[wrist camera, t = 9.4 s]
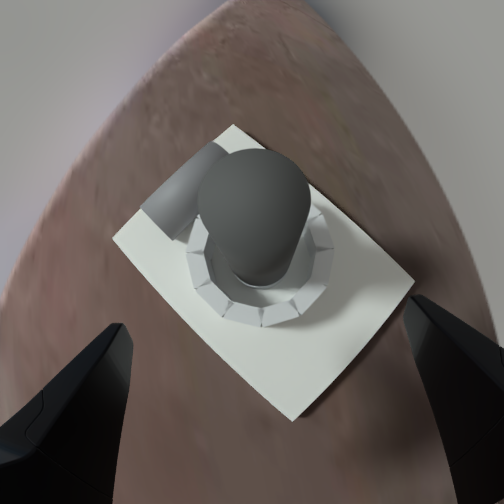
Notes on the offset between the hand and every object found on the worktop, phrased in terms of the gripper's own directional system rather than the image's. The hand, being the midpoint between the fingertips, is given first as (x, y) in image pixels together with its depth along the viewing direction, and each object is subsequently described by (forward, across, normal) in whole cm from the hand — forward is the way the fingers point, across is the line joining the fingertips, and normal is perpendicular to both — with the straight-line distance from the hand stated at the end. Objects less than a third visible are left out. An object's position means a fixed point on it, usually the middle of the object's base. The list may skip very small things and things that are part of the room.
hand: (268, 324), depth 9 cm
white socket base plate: (+10, 0, +5) cm, 12 cm away
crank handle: (+10, 0, +4) cm, 10 cm away
